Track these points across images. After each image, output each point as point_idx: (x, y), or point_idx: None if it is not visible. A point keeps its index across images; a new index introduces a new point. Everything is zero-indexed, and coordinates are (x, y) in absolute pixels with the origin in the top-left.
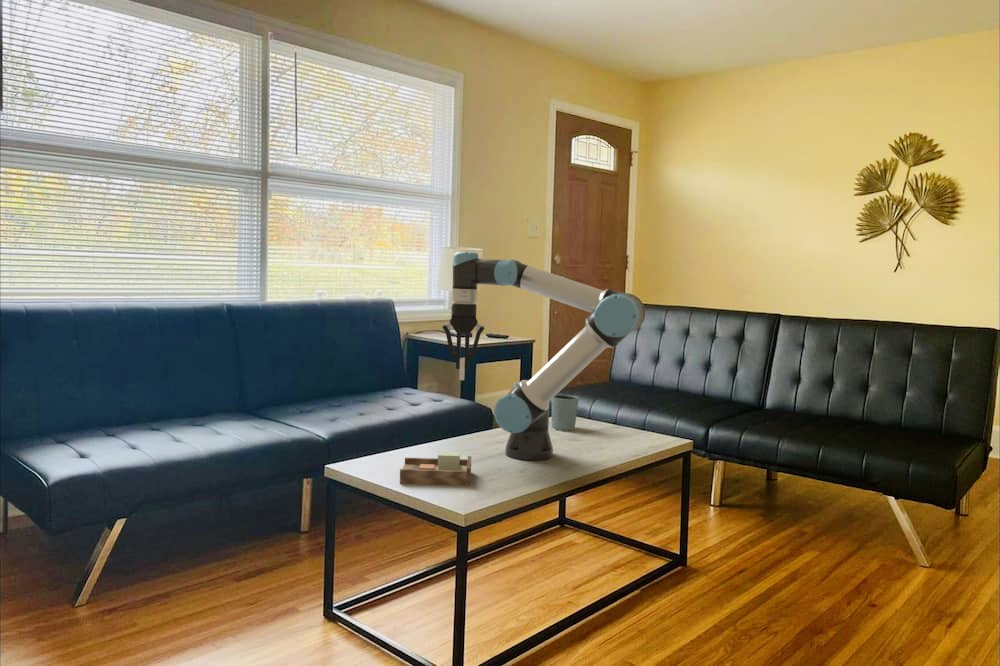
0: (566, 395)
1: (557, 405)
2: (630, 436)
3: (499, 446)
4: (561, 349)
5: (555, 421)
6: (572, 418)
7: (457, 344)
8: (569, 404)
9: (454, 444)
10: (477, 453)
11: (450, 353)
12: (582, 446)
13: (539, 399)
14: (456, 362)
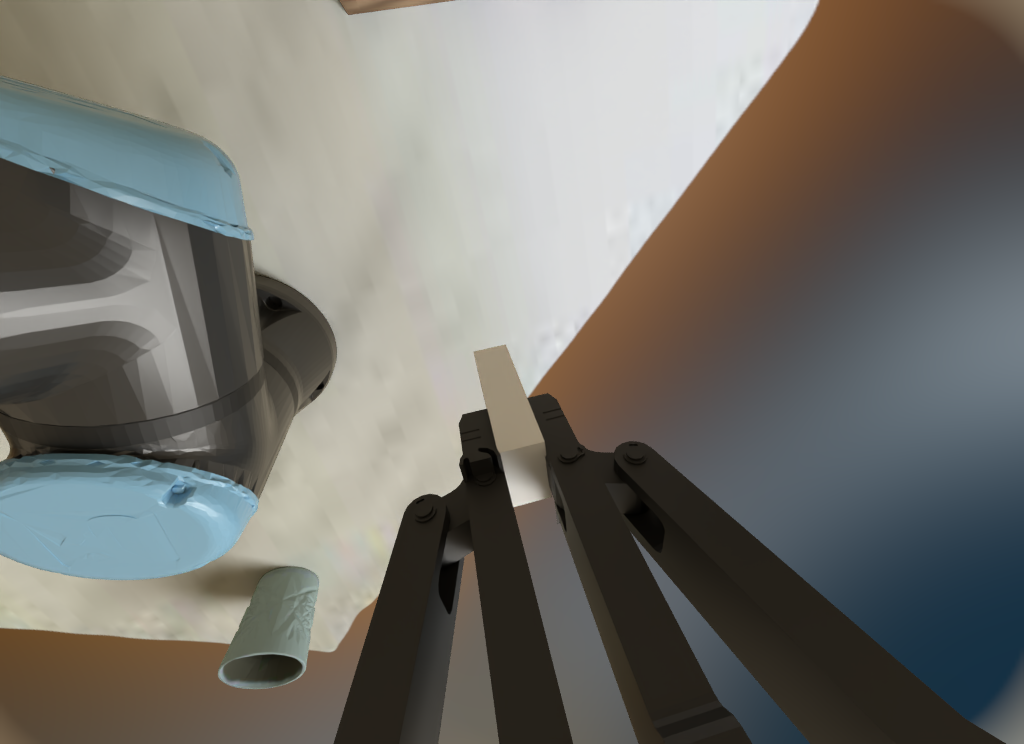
0: (272, 684)
1: (279, 631)
2: (85, 594)
3: (378, 395)
4: None
5: (297, 587)
6: (249, 608)
7: (638, 571)
8: (239, 643)
9: None
10: (414, 305)
11: (658, 458)
12: None
13: None
14: (565, 425)
